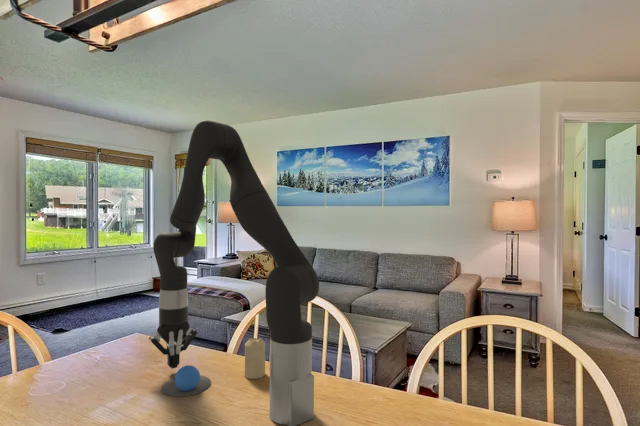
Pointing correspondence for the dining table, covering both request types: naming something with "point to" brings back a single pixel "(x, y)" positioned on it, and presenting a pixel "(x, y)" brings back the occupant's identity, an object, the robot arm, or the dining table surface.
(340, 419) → the dining table surface
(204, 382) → the disc
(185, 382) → the ball
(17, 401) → the dining table surface
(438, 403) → the dining table surface
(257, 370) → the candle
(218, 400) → the dining table surface
